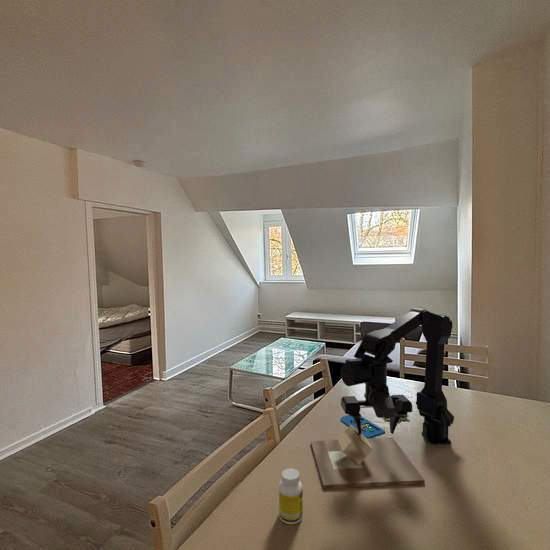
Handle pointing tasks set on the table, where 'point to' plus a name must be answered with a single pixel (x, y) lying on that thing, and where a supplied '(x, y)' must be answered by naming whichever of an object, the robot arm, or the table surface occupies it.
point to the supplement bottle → (290, 497)
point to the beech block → (354, 445)
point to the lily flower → (399, 419)
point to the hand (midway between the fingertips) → (375, 433)
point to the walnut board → (364, 465)
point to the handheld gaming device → (364, 426)
